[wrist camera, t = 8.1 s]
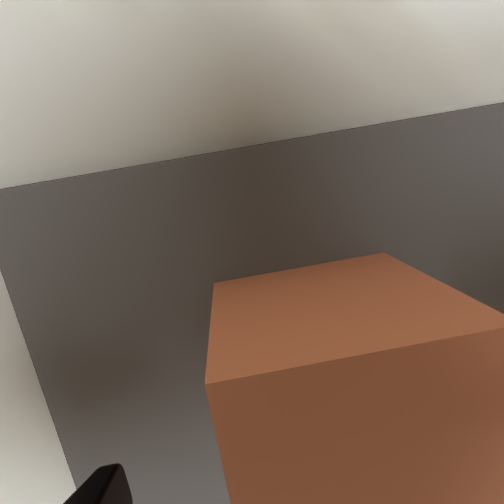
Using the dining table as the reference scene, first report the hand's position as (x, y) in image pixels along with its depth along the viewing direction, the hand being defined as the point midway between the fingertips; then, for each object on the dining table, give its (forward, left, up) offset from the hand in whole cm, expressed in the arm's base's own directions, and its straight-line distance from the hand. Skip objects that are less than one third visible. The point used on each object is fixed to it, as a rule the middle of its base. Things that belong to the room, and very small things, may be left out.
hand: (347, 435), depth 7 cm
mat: (0, 0, -4) cm, 4 cm away
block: (0, 0, -4) cm, 4 cm away
